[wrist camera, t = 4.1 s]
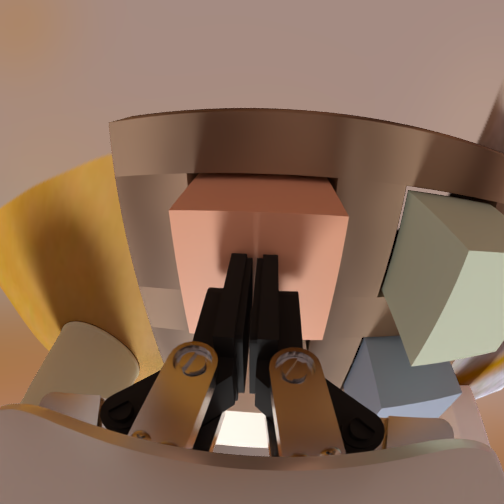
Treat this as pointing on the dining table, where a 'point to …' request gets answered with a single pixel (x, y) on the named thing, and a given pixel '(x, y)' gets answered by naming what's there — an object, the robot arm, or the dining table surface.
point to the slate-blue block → (399, 381)
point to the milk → (466, 417)
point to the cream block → (244, 421)
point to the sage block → (447, 278)
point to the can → (84, 365)
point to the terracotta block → (260, 237)
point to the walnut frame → (290, 163)
